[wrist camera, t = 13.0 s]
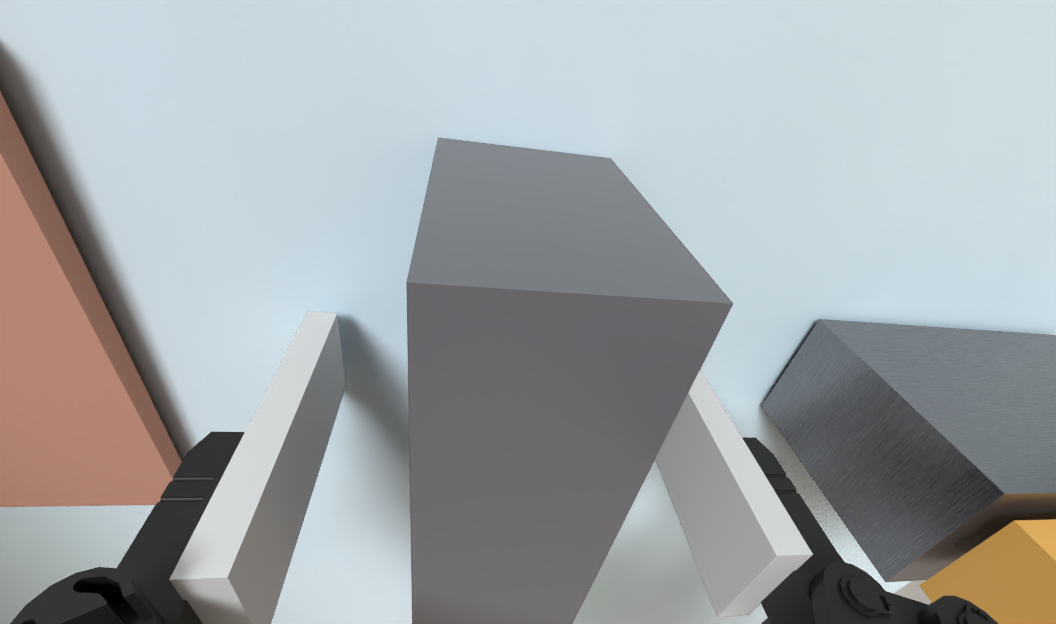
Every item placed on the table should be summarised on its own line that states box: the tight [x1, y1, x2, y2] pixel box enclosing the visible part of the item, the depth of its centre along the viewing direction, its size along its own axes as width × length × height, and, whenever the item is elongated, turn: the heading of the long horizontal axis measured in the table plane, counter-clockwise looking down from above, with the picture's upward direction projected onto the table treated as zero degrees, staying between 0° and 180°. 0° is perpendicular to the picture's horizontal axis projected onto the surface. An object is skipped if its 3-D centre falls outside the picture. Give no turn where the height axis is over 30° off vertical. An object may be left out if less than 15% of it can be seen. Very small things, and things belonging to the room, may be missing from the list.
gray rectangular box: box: [762, 319, 1056, 582], centre depth 13 cm, size 10×4×6 cm, turn 81°
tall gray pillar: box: [407, 138, 733, 624], centre depth 11 cm, size 4×12×6 cm, turn 172°
